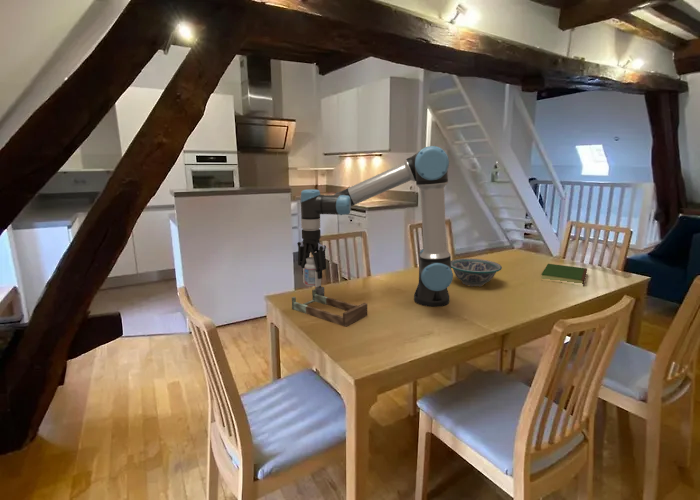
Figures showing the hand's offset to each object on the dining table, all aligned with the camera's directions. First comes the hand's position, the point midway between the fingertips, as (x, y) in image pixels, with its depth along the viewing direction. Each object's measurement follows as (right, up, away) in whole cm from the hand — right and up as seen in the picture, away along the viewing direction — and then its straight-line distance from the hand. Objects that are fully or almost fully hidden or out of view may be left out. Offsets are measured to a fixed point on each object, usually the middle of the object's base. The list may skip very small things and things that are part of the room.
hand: (312, 284), depth 163 cm
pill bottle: (0, 0, 0) cm, 1 cm away
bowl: (+76, -3, +33) cm, 83 cm away
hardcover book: (+127, -1, +43) cm, 134 cm away
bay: (+8, -10, -1) cm, 13 cm away
